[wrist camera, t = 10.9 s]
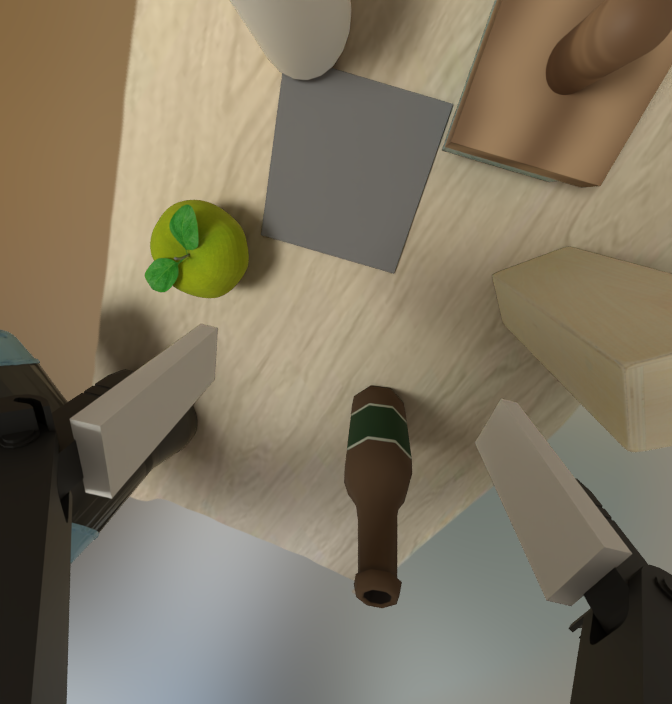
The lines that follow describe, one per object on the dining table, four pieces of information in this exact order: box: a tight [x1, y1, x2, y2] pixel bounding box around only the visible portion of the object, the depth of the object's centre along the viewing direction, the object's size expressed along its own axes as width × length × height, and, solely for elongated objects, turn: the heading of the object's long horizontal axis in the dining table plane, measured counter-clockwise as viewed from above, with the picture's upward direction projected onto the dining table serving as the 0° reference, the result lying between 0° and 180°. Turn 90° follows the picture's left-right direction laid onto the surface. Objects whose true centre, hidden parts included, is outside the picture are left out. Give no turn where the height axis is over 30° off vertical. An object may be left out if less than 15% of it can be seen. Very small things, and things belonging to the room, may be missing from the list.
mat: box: [261, 68, 453, 274], centre depth 31 cm, size 16×16×1 cm
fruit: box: [145, 200, 249, 298], centre depth 32 cm, size 9×9×10 cm
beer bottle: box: [344, 386, 412, 608], centre depth 33 cm, size 8×8×24 cm
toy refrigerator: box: [492, 247, 672, 452], centre depth 25 cm, size 8×7×21 cm
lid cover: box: [445, 0, 672, 187], centre depth 19 cm, size 12×12×8 cm
